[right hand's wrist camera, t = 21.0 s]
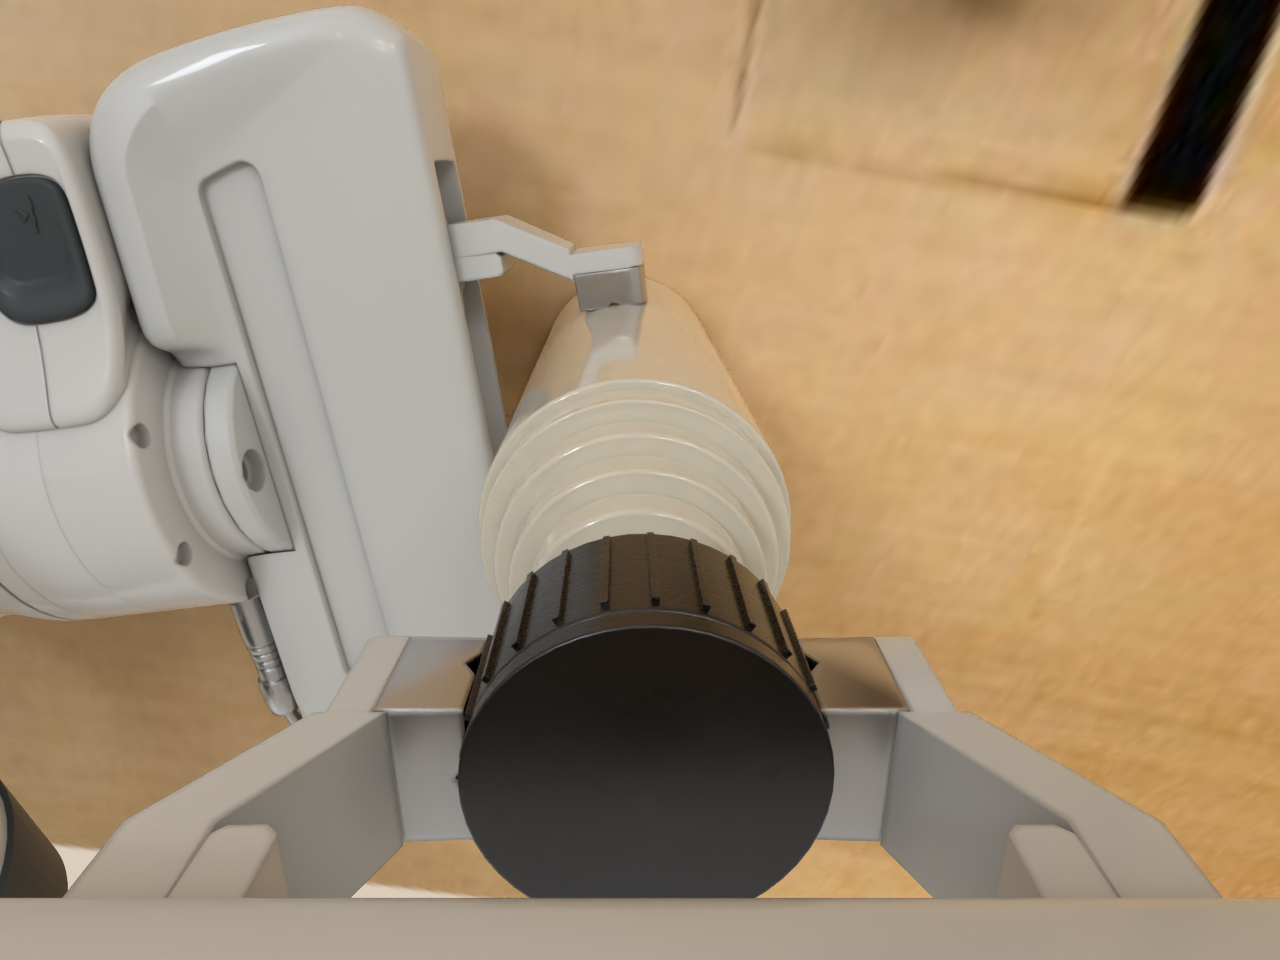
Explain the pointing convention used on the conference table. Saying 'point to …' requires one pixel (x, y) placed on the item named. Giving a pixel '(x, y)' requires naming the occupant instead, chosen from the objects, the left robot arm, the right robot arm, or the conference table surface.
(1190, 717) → the conference table surface
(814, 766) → the cap
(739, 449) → the bottle
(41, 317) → the left robot arm
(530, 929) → the right robot arm
